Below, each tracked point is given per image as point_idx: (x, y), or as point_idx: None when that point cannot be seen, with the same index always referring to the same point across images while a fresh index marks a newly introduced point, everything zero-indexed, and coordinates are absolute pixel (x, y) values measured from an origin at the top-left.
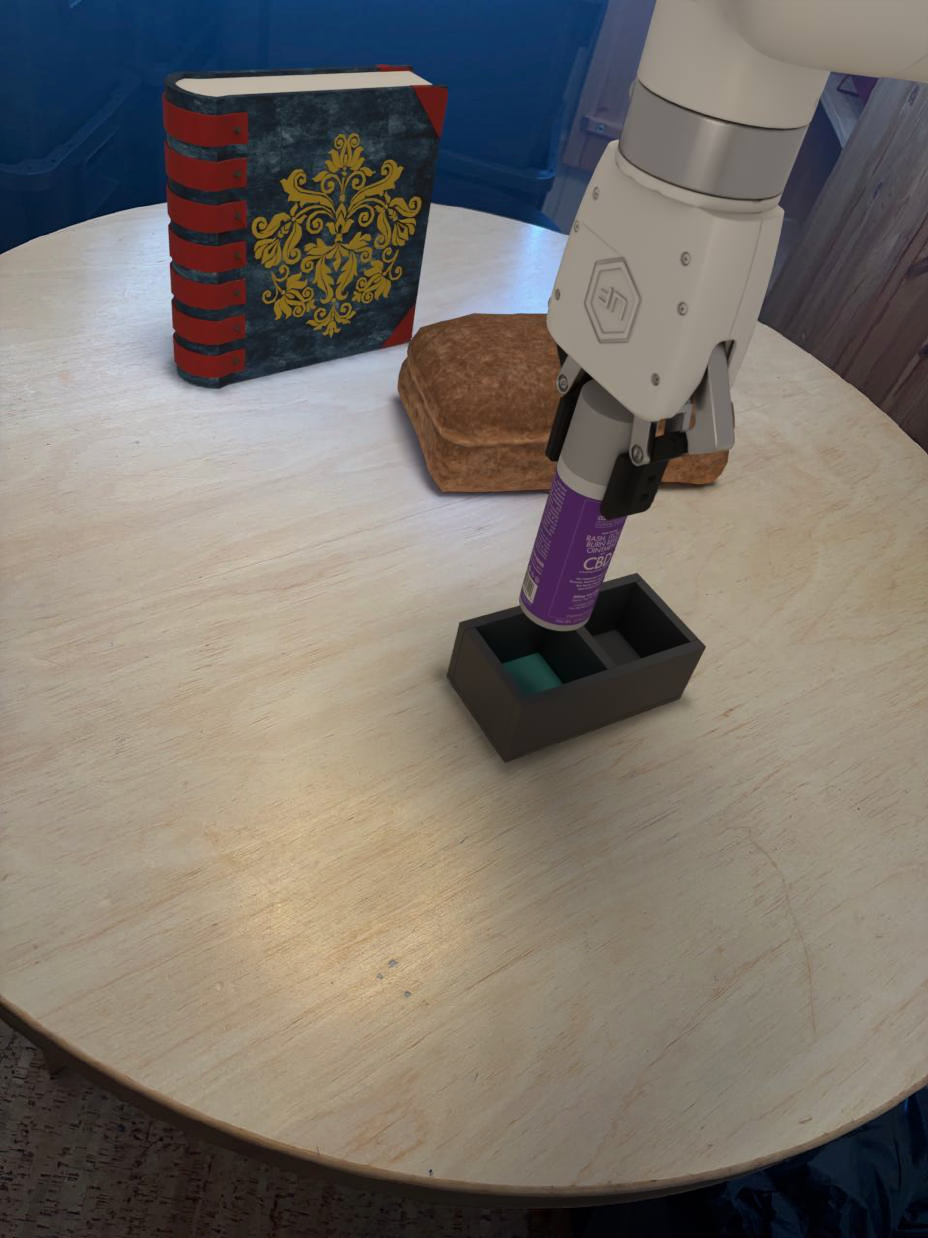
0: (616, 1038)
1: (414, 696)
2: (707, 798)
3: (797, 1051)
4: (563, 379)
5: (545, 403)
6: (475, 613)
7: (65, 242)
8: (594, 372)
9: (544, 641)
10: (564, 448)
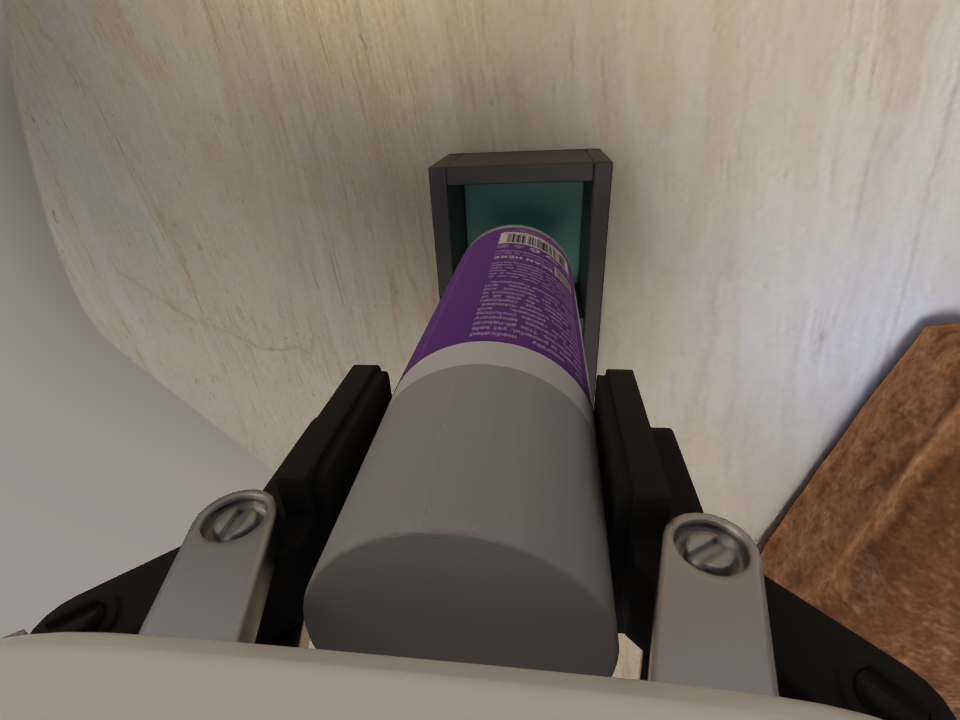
0: (125, 90)
1: (588, 85)
2: (348, 339)
3: (108, 249)
4: (718, 559)
5: (950, 536)
6: (682, 247)
7: None
8: (350, 702)
9: (575, 292)
10: (533, 392)
